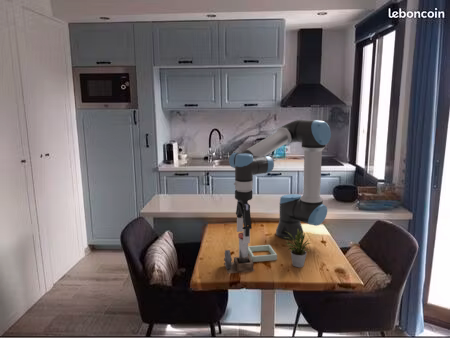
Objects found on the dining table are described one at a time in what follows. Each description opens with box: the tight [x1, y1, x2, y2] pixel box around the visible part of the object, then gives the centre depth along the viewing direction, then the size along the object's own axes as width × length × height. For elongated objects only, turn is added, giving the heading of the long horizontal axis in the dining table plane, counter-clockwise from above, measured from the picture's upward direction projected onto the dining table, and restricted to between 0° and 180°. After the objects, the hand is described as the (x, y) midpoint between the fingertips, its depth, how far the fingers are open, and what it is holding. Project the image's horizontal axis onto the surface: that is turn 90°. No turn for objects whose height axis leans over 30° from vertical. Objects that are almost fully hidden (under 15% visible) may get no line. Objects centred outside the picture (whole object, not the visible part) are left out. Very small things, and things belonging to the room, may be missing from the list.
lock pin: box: [237, 232, 249, 263], centre depth 150 cm, size 5×5×15 cm
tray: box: [248, 244, 278, 263], centre depth 162 cm, size 12×12×4 cm
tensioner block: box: [223, 249, 256, 274], centre depth 150 cm, size 13×10×10 cm
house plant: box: [284, 229, 312, 268], centre depth 155 cm, size 14×14×16 cm
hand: (243, 237), depth 148 cm, fingers open, 13 cm apart
